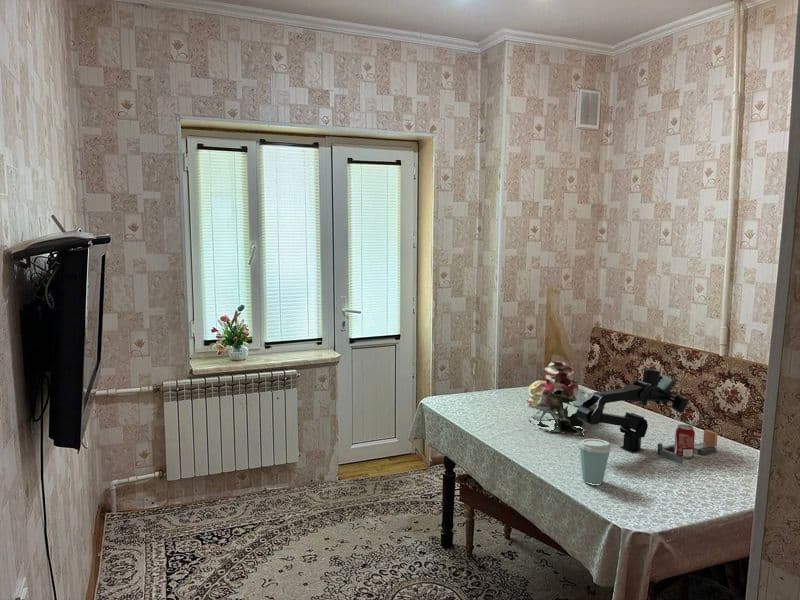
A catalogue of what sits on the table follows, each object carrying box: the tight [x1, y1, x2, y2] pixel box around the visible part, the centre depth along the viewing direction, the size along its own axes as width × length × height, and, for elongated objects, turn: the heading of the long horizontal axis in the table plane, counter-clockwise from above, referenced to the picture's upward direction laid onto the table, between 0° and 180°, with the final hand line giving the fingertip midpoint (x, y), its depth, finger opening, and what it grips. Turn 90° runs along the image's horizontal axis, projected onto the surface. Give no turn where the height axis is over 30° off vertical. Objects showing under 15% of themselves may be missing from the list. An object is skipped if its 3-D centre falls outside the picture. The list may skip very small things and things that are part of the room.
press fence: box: [657, 443, 684, 464], centre depth 228 cm, size 12×11×4 cm
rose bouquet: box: [526, 360, 585, 437], centre depth 263 cm, size 26×29×30 cm
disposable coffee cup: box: [579, 438, 612, 484], centre depth 203 cm, size 11×11×15 cm
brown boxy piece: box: [694, 429, 719, 455], centre depth 233 cm, size 10×5×7 cm, turn 116°
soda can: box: [673, 423, 696, 459], centre depth 228 cm, size 7×7×12 cm
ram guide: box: [694, 442, 717, 456], centre depth 233 cm, size 8×6×2 cm
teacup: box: [571, 387, 594, 408], centre depth 293 cm, size 14×11×8 cm
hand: (680, 398), depth 243 cm, fingers open, 9 cm apart
